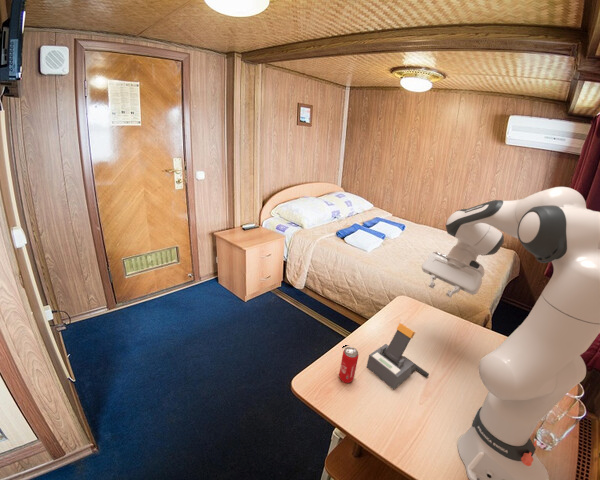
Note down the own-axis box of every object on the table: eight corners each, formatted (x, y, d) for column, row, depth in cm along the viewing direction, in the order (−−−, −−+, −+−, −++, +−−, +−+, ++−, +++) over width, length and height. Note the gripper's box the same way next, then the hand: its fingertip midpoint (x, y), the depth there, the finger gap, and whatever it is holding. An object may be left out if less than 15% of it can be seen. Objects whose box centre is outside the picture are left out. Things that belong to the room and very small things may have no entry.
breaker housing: (412, 374, 110) (418, 356, 107) (393, 389, 103) (399, 371, 100) (385, 353, 119) (390, 336, 115) (366, 367, 112) (370, 349, 108)
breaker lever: (399, 364, 106) (416, 332, 106) (396, 364, 105) (414, 332, 104) (385, 353, 110) (401, 323, 110) (382, 353, 109) (399, 322, 108)
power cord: (428, 376, 110) (429, 373, 109) (420, 383, 107) (421, 379, 106) (402, 357, 118) (403, 354, 117) (395, 363, 114) (395, 360, 114)
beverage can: (353, 385, 104) (358, 359, 99) (338, 382, 104) (342, 355, 100) (353, 373, 108) (359, 348, 103) (339, 370, 109) (344, 344, 104)
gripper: (431, 246, 115) (411, 275, 113) (488, 268, 101) (466, 302, 99) (434, 254, 120) (415, 282, 118) (488, 276, 106) (468, 308, 104)
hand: (439, 291), depth 109 cm, fingers open, 5 cm apart
